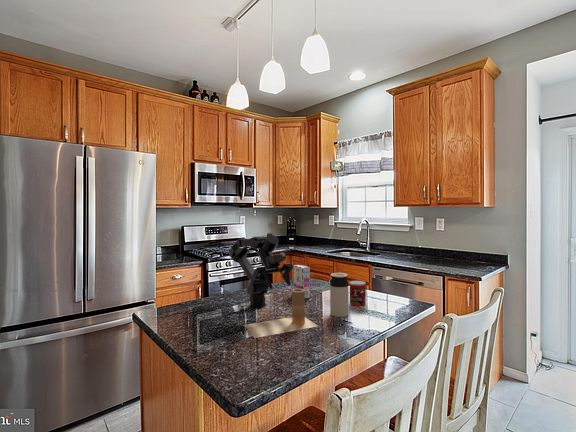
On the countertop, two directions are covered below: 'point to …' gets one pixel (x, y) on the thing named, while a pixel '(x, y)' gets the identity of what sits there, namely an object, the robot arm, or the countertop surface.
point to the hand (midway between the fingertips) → (281, 286)
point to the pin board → (277, 327)
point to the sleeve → (298, 306)
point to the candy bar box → (302, 279)
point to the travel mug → (339, 295)
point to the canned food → (358, 293)
